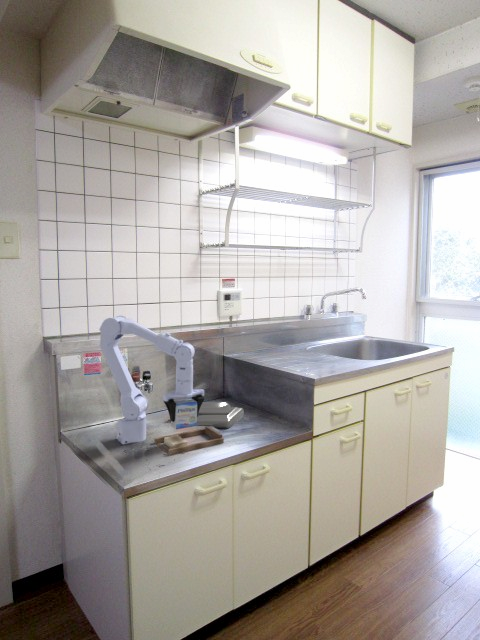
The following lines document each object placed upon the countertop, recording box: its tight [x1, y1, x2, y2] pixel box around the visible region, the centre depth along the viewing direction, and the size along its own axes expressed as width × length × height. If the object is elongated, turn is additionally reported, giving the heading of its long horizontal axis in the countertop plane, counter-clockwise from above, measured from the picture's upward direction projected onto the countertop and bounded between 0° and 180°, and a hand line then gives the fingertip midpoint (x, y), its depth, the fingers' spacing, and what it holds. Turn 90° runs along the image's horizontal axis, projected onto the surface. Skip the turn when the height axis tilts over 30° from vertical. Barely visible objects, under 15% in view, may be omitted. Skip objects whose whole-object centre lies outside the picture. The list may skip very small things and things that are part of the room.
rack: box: [153, 425, 225, 456], centre depth 146 cm, size 20×12×4 cm, turn 124°
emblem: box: [197, 401, 245, 429], centre depth 176 cm, size 28×5×28 cm
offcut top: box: [163, 435, 188, 449], centre depth 144 cm, size 5×7×2 cm
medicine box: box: [170, 398, 198, 430], centre depth 147 cm, size 8×4×9 cm, turn 122°
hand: (183, 418), depth 147 cm, fingers closed on medicine box, 7 cm apart
